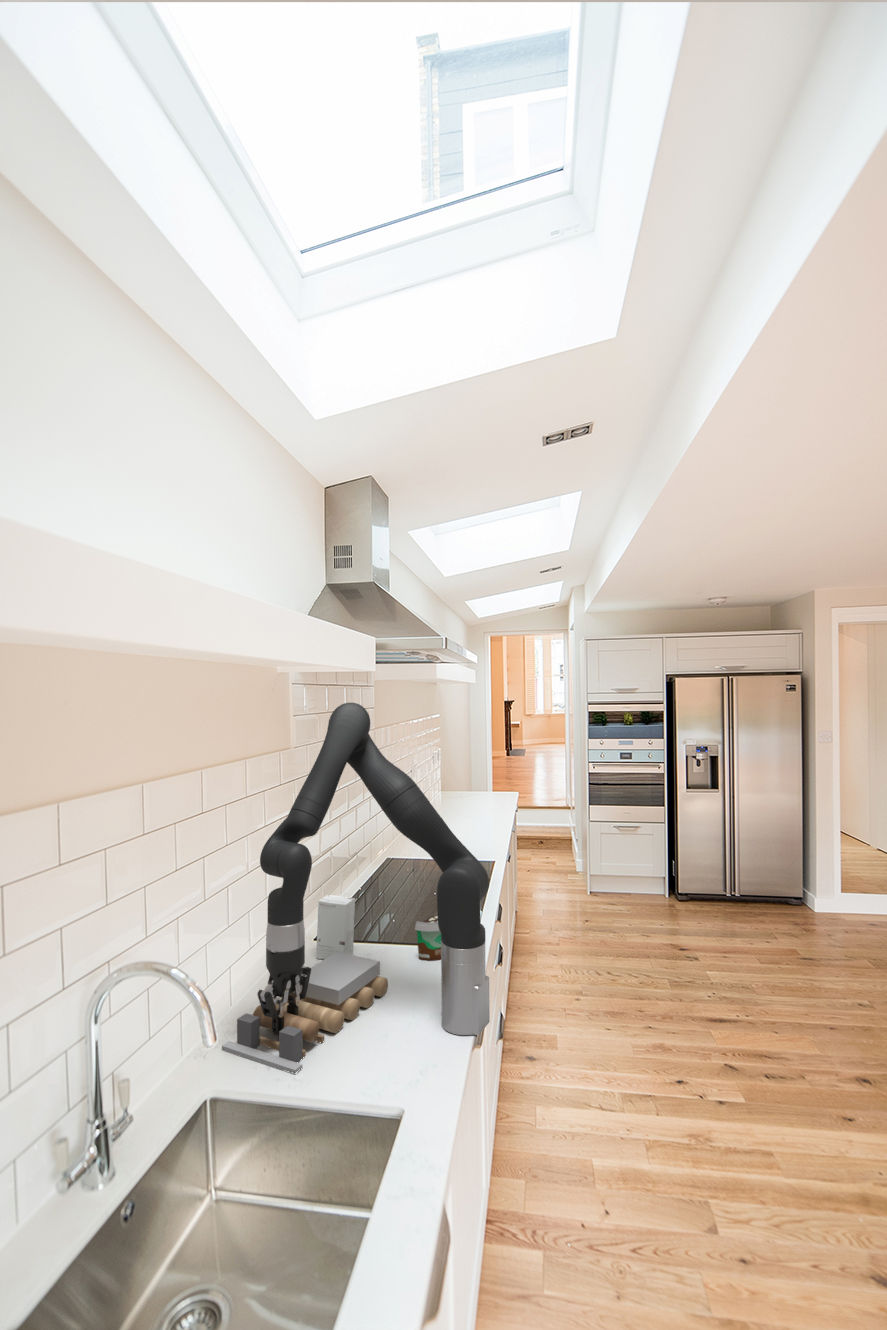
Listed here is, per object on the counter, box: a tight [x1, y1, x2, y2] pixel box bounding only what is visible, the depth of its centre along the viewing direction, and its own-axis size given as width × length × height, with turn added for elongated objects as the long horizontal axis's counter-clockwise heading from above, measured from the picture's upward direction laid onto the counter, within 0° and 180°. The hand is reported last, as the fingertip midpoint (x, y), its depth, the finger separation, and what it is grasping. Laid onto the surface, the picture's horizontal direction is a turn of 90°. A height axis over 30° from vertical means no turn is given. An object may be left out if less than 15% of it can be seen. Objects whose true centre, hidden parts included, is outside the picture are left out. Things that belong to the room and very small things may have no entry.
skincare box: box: [315, 894, 356, 960], centre depth 173 cm, size 8×6×15 cm
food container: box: [414, 914, 441, 962], centre depth 173 cm, size 12×6×10 cm, turn 143°
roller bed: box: [260, 975, 389, 1059], centre depth 143 cm, size 15×30×4 cm, turn 153°
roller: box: [252, 1005, 320, 1043], centre depth 133 cm, size 14×4×4 cm, turn 63°
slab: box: [300, 952, 381, 1005], centre depth 148 cm, size 12×16×3 cm
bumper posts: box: [221, 1012, 303, 1073], centre depth 127 cm, size 18×4×6 cm, turn 63°
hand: (285, 1028), depth 133 cm, fingers closed on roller, 3 cm apart
